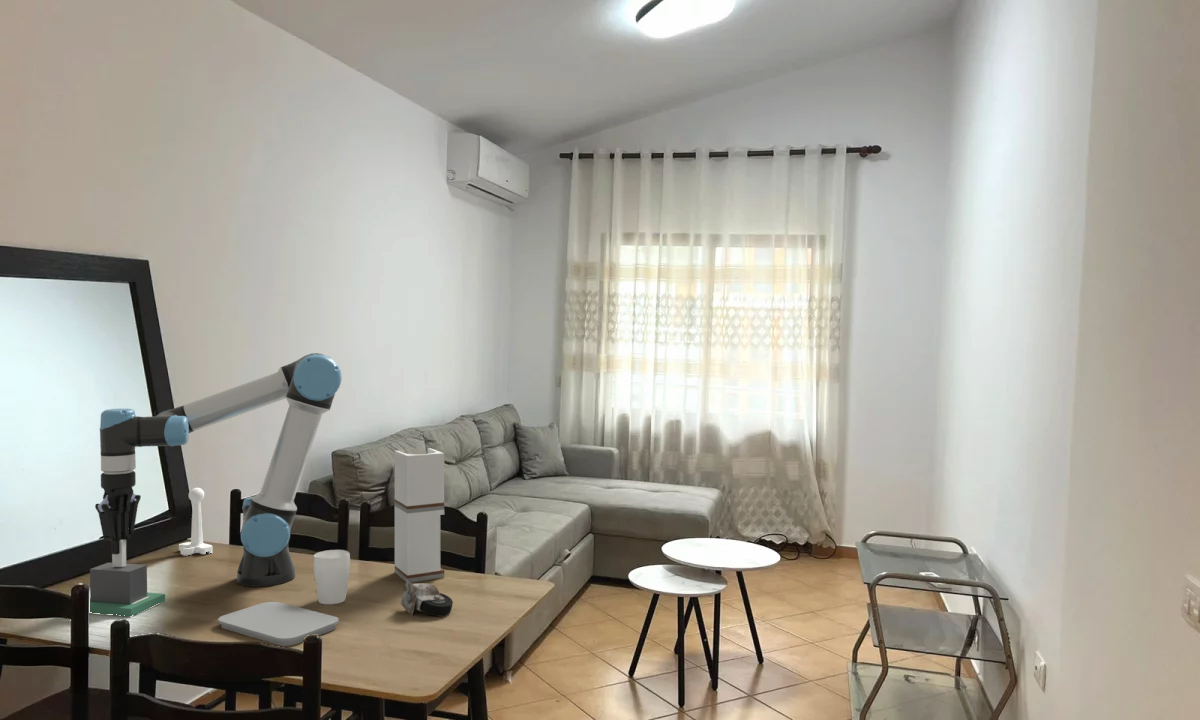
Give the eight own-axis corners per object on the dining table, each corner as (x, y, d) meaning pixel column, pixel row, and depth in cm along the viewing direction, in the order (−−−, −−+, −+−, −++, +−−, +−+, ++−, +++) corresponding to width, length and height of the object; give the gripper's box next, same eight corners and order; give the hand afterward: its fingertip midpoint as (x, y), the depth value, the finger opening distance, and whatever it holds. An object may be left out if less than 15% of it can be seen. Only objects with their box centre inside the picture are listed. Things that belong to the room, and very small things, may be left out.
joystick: (215, 552, 265) (215, 488, 264) (195, 558, 258) (194, 492, 258) (190, 548, 270) (190, 485, 269) (169, 553, 263) (168, 489, 262)
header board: (165, 601, 218) (164, 577, 218) (131, 617, 206) (131, 591, 206) (109, 597, 221) (109, 574, 220) (73, 612, 209) (72, 587, 209)
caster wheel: (454, 623, 211) (418, 625, 204) (433, 602, 219) (398, 604, 213) (460, 597, 210) (424, 599, 204) (440, 577, 219) (404, 578, 212)
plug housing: (147, 596, 215) (146, 565, 215) (130, 604, 209) (129, 571, 209) (108, 593, 217) (108, 562, 217) (90, 601, 211) (89, 569, 211)
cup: (339, 592, 226) (339, 547, 225) (357, 600, 219) (356, 554, 219) (307, 600, 219) (307, 554, 219) (323, 608, 213) (323, 561, 213)
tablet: (286, 650, 186) (286, 640, 186) (212, 628, 200) (212, 618, 200) (344, 628, 200) (344, 619, 200) (271, 609, 214) (271, 600, 214)
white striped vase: (444, 577, 240) (444, 453, 239) (407, 582, 235) (407, 455, 234) (430, 567, 250) (430, 448, 249) (394, 572, 245) (394, 450, 244)
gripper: (123, 466, 219) (124, 558, 220) (84, 475, 206) (85, 572, 207) (150, 467, 218) (150, 559, 219) (112, 476, 205) (113, 574, 206)
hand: (119, 565), depth 213 cm, fingers closed
